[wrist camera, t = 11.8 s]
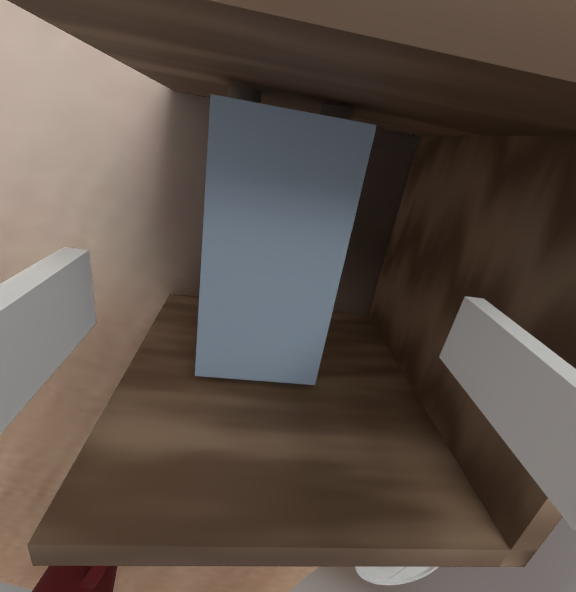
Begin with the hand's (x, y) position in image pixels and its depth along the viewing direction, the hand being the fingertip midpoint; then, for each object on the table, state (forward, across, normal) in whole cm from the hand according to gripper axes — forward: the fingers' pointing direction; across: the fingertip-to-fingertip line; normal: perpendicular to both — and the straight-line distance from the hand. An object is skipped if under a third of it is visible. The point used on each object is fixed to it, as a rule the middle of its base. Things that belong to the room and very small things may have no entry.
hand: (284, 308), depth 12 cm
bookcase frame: (+17, +2, -1) cm, 17 cm away
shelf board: (+8, 0, 0) cm, 8 cm away
